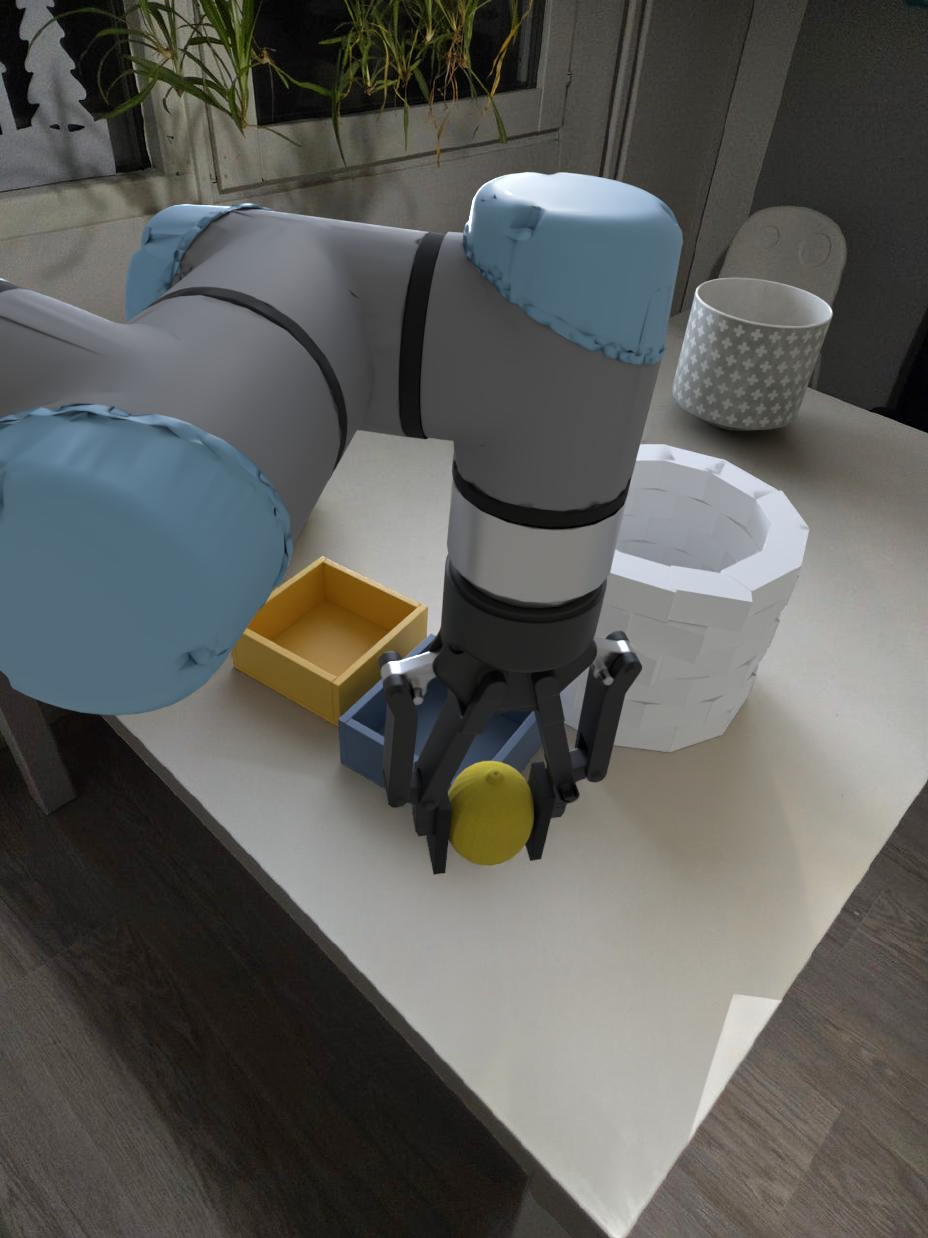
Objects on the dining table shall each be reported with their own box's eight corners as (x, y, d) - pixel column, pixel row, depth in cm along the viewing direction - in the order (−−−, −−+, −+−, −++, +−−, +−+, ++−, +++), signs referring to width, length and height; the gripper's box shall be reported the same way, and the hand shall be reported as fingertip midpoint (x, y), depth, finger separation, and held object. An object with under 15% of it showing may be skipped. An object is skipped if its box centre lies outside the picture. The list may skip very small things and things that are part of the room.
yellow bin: (233, 666, 81) (225, 624, 77) (324, 596, 89) (321, 555, 86) (340, 729, 75) (338, 686, 72) (426, 648, 84) (428, 606, 81)
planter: (659, 432, 123) (688, 311, 111) (675, 381, 137) (702, 269, 125) (789, 459, 119) (834, 336, 107) (792, 404, 133) (832, 290, 121)
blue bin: (340, 762, 73) (337, 719, 69) (428, 674, 81) (430, 632, 78) (469, 839, 67) (473, 797, 64) (548, 737, 76) (556, 695, 73)
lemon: (501, 905, 50) (516, 828, 45) (424, 863, 52) (430, 784, 47) (539, 839, 54) (558, 761, 49) (466, 802, 56) (476, 723, 51)
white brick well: (520, 578, 94) (541, 429, 82) (730, 603, 93) (783, 455, 81) (504, 745, 75) (528, 583, 63) (768, 779, 74) (844, 621, 62)
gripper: (682, 503, 42) (600, 784, 57) (316, 524, 39) (332, 818, 54) (748, 596, 37) (639, 879, 52) (329, 631, 33) (343, 925, 48)
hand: (483, 848), depth 53 cm, fingers closed on lemon, 5 cm apart
